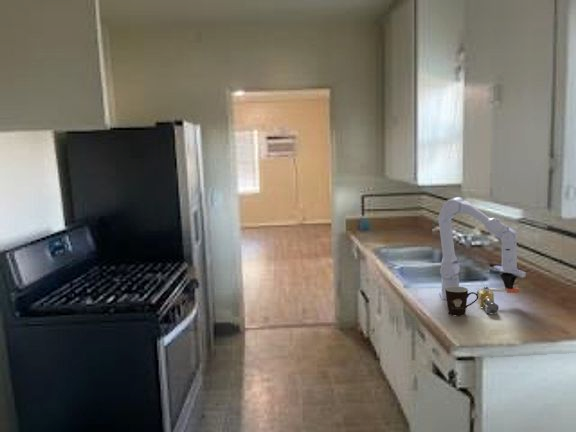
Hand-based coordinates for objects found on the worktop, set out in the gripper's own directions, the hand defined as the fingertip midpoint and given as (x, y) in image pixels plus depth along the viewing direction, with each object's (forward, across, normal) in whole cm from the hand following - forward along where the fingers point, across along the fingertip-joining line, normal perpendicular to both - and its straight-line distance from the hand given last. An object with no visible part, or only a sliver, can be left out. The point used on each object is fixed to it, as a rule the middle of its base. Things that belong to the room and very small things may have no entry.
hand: (508, 290), depth 213 cm
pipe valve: (+6, -2, -10) cm, 12 cm away
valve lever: (0, 0, -5) cm, 5 cm away
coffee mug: (+6, -2, -25) cm, 25 cm away
